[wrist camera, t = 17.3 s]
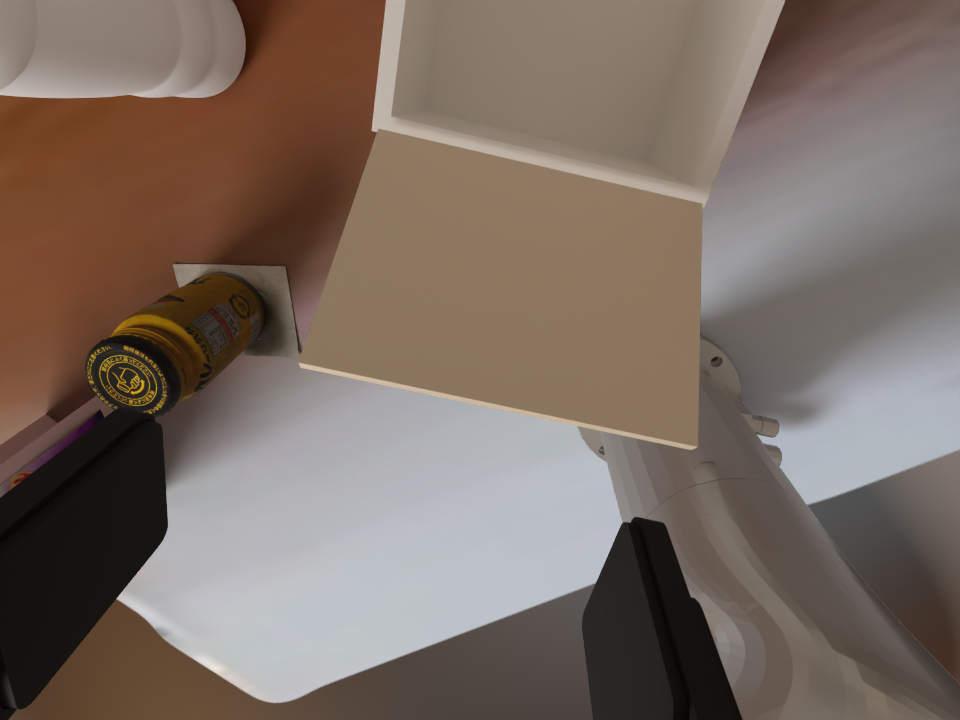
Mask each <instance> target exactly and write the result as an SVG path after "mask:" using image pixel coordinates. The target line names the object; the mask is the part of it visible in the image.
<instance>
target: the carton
mask: <svg viewBox="0 0 960 720" xmlns="http://www.w3.org/2000/svg"><path fill="white" fill-rule="evenodd" d="M784 2H785V0H386V7H385V16H384V25H383V34H382V43H381V52H380V61H379V70H378V79H377V87H376V96H375V105H374V114H373V123H372V131H374V132H377V131H378V128H379V129H383V130H387V131H392V132H396V133H400V134H405V135H409V136H413V137H417V138H422V139H426V140H430V141H435V142H439V143H443V144H448V145H452V146H456V147H461V148H465V149H469V150H474V151H478V152H482V153H486V154H491V155H495V156H499V157H504V158H508V159H512V160H517V161H521V162H525V163H530V164H534V165H538V166H542V167H547V168H551V169H555V170H560V171H564V172H568V173H573V174H577V175H581V176H586V177H590V178H594V179H599V180H603V181H607V182H611V183H616V184H620V185H624V186H629V187H633V188H637V189H642V190H646V191H650V192H655V193H659V194H663V195H667V196H672V197H676V198H680V199H685V200H689V201H693V202H698V203H702V208H704V207H705V204H706V202H707V199H708V197H709V194H710V192H711V189H712V187H713V184H714V181H715V179H716V176H717V174H718V171H719V169H720V166H721V164H722V161H723V158H724V156H725V153H726V151H727V148H728V146H729V143H730V141H731V138H732V135H733V133H734V130H735V128H736V125H737V123H738V120H739V118H740V115H741V112H742V110H743V107H744V105H745V102H746V100H747V97H748V94H749V92H750V89H751V87H752V84H753V82H754V79H755V77H756V74H757V71H758V69H759V66H760V64H761V61H762V59H763V56H764V54H765V51H766V48H767V46H768V43H769V41H770V38H771V36H772V33H773V31H774V28H775V25H776V23H777V20H778V18H779V15H780V13H781V10H782V8H783V5H784Z"/></svg>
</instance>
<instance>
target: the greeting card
mask: <svg viewBox="0 0 960 720" xmlns="http://www.w3.org/2000/svg"><path fill="white" fill-rule="evenodd" d="M112 411H114V410H113V409H112V408H110V407H109V406H107V405H106V404H105V403H103V402H102V401H101V400H100V399H99V398H98V396H97V395H96V396H95V397H94V398H92V399H91V400H89V401H88V402H87V403H85V404H84V405H82V406H81V407H80V408H78V409H77V410H76V411H74V412H73V413H71V414H70V415H69V416H67V417H66V418H64V419H63V420H62V421H60V422H59V423H57V422H56V421H54V420H53V419H52V418H50V417H49V416H48V415H46V414H45V415H44V416H42V417H41V418H39V419H38V420H36V421H35V422H34V423H32V424H31V425H29V426H28V427H26V428H25V429H23V430H22V431H20V432H19V433H17V434H16V435H14V436H13V437H12V438H10V439H9V440H7V441H6V442H4V443H3V444H1V445H0V497H1V496H3V495H4V494H5V493H7V492H8V491H9V490H11V489H12V488H13V487H15V486H16V485H17V484H18V483H20V482H21V481H22V480H24V479H25V478H26V477H28V476H29V475H30V474H32V473H33V472H34V471H35V470H37V469H38V468H39V467H41V466H42V465H43V464H45V463H46V462H47V461H48V460H50V459H51V458H52V457H54V456H55V455H56V454H58V453H59V452H60V451H62V450H63V449H64V448H65V447H67V446H68V445H69V444H71V443H72V442H73V441H75V440H76V439H77V438H79V437H80V436H81V435H82V434H84V433H85V432H86V431H88V430H89V429H90V428H92V427H93V426H94V425H96V424H97V423H98V422H99V421H101V420H102V419H103V418H105V417H106V416H107V415H109V414H110V413H111V412H112Z"/></svg>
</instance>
